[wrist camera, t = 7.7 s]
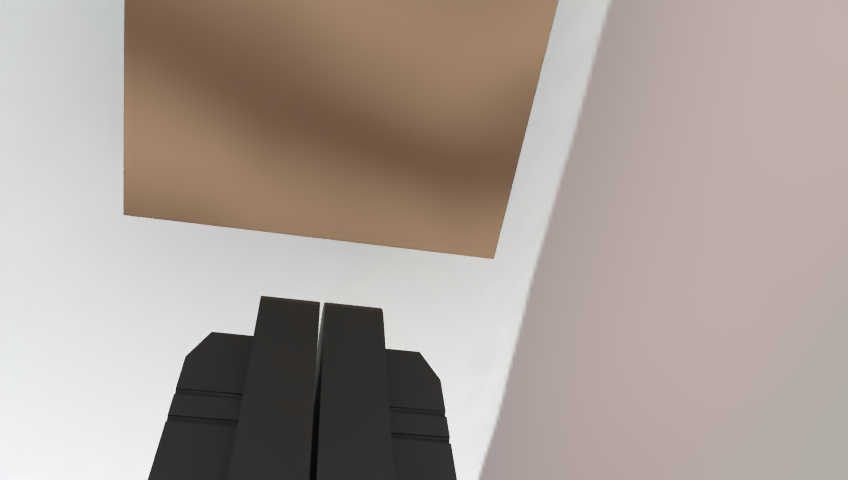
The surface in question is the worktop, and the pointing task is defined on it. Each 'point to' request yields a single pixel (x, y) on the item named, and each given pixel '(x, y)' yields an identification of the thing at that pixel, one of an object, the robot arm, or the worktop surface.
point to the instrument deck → (332, 115)
